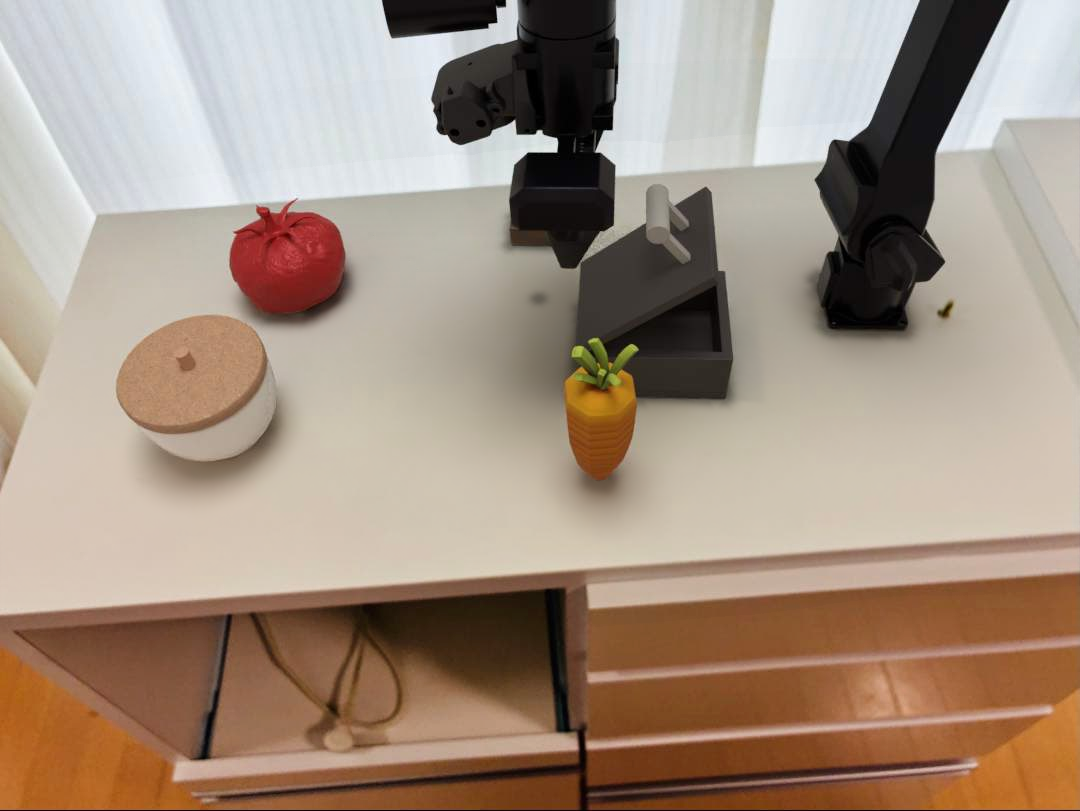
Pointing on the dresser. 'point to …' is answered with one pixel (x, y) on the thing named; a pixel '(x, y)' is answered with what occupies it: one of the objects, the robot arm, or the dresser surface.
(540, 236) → the walnut block
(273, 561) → the dresser surface
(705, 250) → the box lid
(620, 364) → the carrot
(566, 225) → the robot arm
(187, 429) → the trinket box
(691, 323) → the box
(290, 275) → the red tomato
